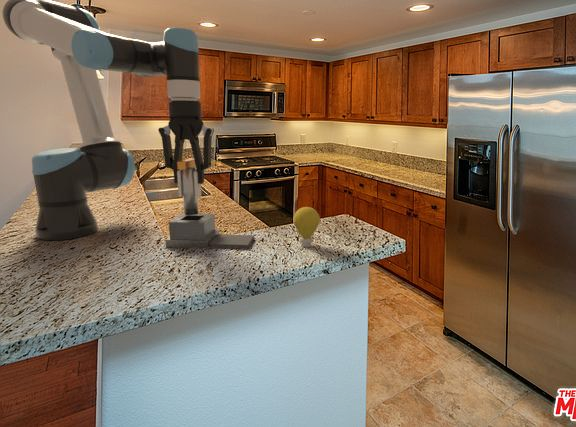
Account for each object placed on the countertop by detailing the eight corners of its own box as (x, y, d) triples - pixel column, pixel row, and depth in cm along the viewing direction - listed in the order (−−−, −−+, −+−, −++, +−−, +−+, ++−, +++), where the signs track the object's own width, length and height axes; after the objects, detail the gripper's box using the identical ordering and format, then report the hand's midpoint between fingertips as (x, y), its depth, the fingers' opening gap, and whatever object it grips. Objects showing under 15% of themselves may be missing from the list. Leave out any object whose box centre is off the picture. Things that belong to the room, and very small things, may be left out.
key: (191, 218, 90) (188, 162, 87) (177, 217, 90) (173, 161, 87) (203, 209, 99) (201, 158, 95) (190, 209, 99) (187, 157, 96)
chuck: (166, 247, 92) (163, 222, 90) (181, 235, 102) (179, 212, 100) (208, 248, 91) (207, 223, 89) (219, 236, 101) (218, 213, 99)
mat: (208, 247, 92) (208, 243, 91) (217, 237, 99) (217, 234, 99) (248, 248, 91) (247, 245, 90) (254, 238, 98) (254, 235, 98)
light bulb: (303, 251, 89) (303, 211, 86) (288, 244, 94) (288, 206, 92) (324, 246, 92) (325, 208, 90) (309, 239, 98) (309, 203, 95)
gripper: (222, 101, 90) (225, 194, 96) (158, 100, 92) (165, 192, 98) (213, 99, 83) (217, 200, 89) (143, 99, 85) (152, 198, 91)
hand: (190, 195), depth 93 cm, fingers closed on key, 4 cm apart
